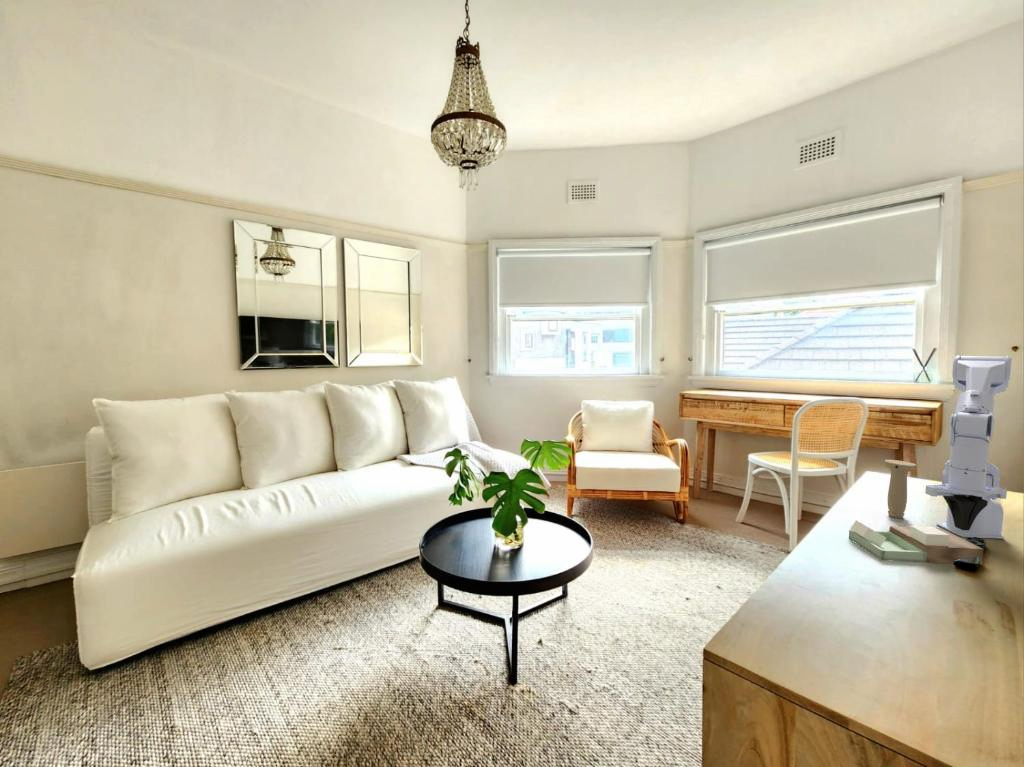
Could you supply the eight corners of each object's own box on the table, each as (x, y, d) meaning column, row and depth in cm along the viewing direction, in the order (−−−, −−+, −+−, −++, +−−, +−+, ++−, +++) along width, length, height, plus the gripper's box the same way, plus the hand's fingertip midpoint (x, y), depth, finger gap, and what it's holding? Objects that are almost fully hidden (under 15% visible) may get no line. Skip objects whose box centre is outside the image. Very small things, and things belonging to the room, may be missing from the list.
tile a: (856, 520, 108) (850, 528, 108) (869, 527, 103) (862, 536, 104) (872, 529, 108) (866, 538, 108) (886, 538, 103) (880, 546, 103)
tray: (888, 540, 108) (889, 531, 108) (925, 562, 97) (926, 552, 97) (848, 538, 109) (849, 529, 109) (880, 560, 98) (881, 550, 98)
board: (938, 542, 107) (940, 527, 107) (981, 564, 96) (983, 548, 96) (888, 540, 108) (890, 525, 108) (925, 562, 97) (927, 546, 97)
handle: (908, 522, 119) (912, 466, 117) (878, 514, 124) (881, 461, 122) (913, 518, 121) (918, 463, 120) (884, 510, 127) (888, 458, 125)
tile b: (931, 537, 102) (932, 526, 101) (948, 546, 97) (949, 534, 97) (909, 536, 102) (910, 525, 102) (925, 545, 98) (926, 534, 97)
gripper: (946, 472, 94) (941, 534, 95) (1023, 474, 93) (1017, 537, 94) (919, 463, 101) (915, 521, 102) (991, 465, 100) (985, 524, 101)
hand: (962, 528), depth 99 cm, fingers closed
